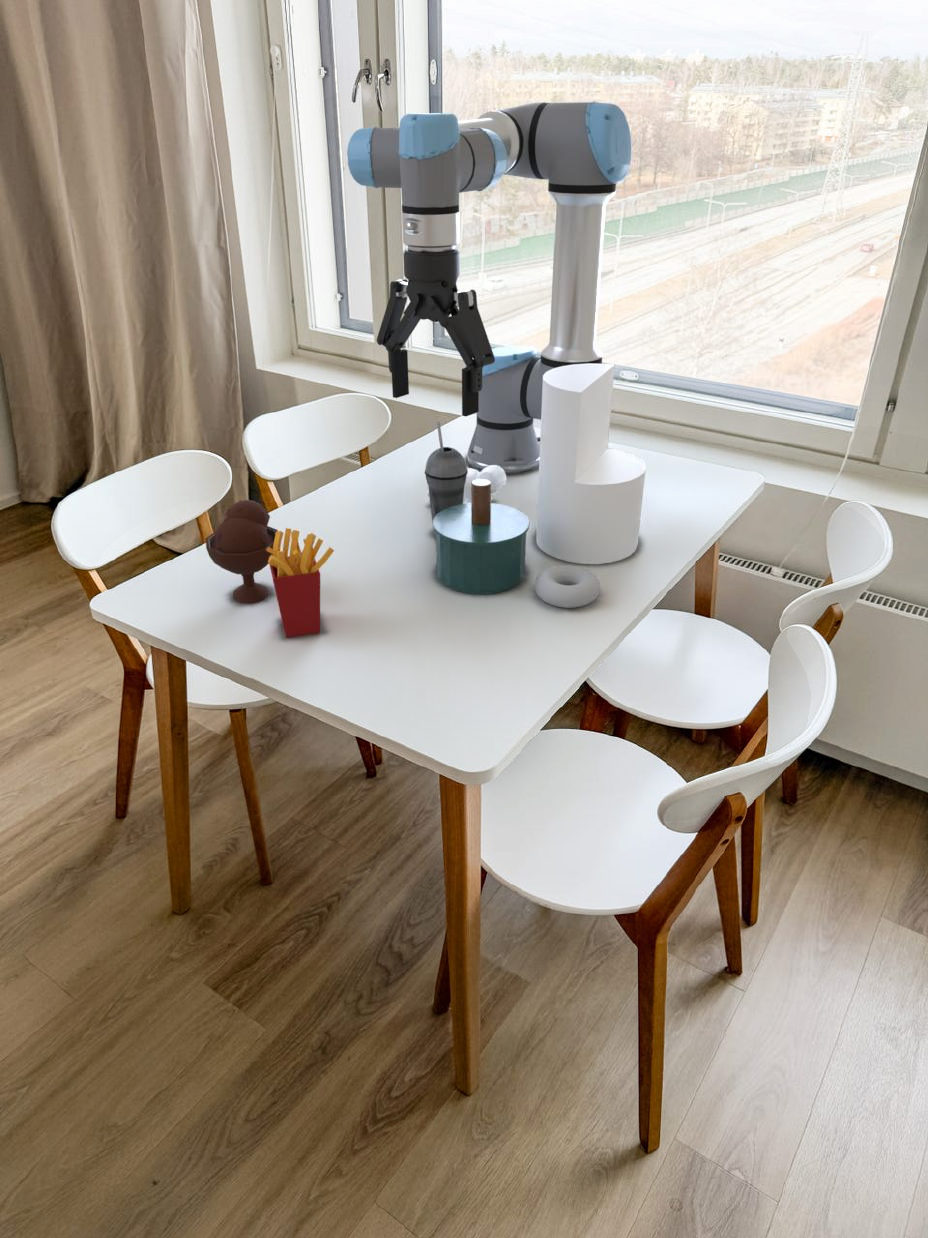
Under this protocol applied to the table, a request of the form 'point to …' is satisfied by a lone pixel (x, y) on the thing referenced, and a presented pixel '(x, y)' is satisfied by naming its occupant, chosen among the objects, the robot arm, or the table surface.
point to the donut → (567, 586)
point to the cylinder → (585, 471)
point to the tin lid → (481, 520)
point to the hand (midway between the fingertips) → (434, 404)
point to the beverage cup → (445, 477)
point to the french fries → (297, 582)
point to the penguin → (489, 473)
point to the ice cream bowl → (243, 547)
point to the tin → (480, 565)
